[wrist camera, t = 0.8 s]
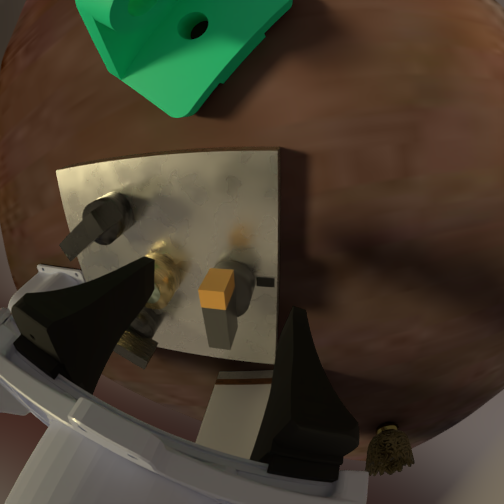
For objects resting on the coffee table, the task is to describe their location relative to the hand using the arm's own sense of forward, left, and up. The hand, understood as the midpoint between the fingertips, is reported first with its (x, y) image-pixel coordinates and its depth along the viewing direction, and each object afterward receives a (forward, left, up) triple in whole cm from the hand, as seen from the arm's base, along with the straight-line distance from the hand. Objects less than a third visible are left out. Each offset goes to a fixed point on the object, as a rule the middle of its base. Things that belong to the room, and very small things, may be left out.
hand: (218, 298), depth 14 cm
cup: (+20, -32, -10) cm, 39 cm away
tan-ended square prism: (-1, -4, -8) cm, 9 cm away
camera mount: (-3, +15, -10) cm, 18 cm away
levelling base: (-8, -4, -10) cm, 13 cm away
